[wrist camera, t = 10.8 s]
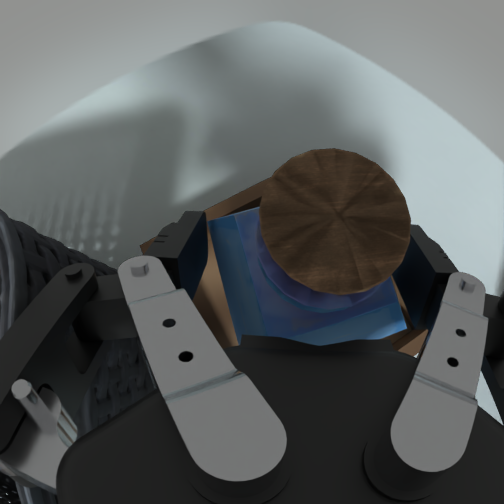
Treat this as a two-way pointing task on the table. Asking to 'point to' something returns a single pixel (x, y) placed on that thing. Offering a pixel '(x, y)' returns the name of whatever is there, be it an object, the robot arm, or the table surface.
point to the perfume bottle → (316, 252)
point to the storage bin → (112, 367)
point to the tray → (214, 299)
